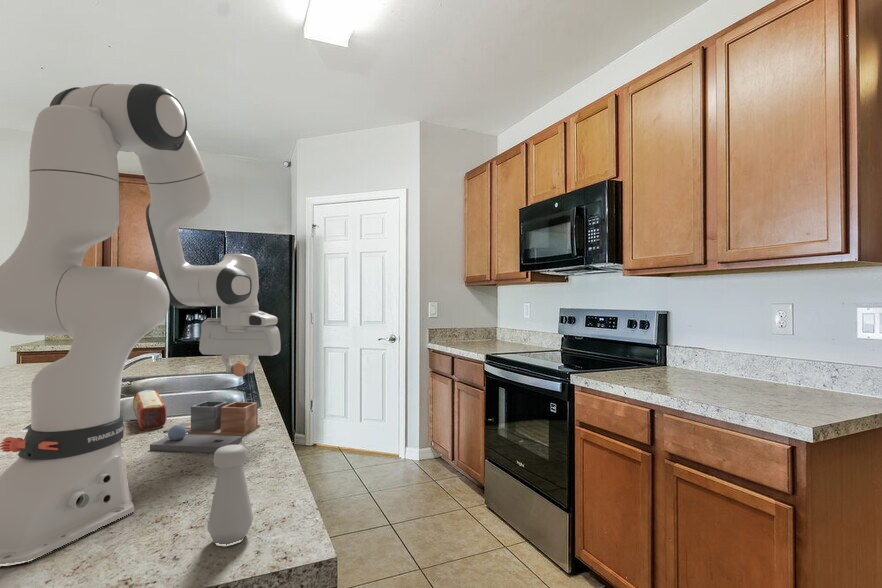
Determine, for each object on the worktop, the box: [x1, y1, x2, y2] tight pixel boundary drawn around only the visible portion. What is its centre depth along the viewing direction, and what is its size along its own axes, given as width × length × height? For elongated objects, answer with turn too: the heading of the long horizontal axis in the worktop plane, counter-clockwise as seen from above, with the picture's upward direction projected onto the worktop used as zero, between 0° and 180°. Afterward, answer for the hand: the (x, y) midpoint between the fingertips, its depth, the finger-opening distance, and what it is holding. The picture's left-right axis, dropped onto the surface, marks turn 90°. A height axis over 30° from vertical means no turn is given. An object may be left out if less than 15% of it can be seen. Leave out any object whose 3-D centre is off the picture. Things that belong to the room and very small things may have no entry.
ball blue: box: [167, 424, 187, 441], centre depth 104 cm, size 4×4×4 cm
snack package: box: [132, 389, 168, 431], centre depth 125 cm, size 21×7×7 cm, turn 37°
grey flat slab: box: [149, 433, 243, 454], centre depth 104 cm, size 8×17×1 cm, turn 83°
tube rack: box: [187, 400, 261, 437], centre depth 115 cm, size 8×14×7 cm, turn 83°
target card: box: [163, 422, 191, 434], centre depth 117 cm, size 7×6×1 cm
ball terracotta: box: [232, 361, 248, 377], centre depth 115 cm, size 4×4×4 cm
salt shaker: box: [206, 444, 254, 545], centre depth 64 cm, size 6×6×13 cm
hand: (240, 372), depth 115 cm, fingers closed on ball terracotta, 4 cm apart
